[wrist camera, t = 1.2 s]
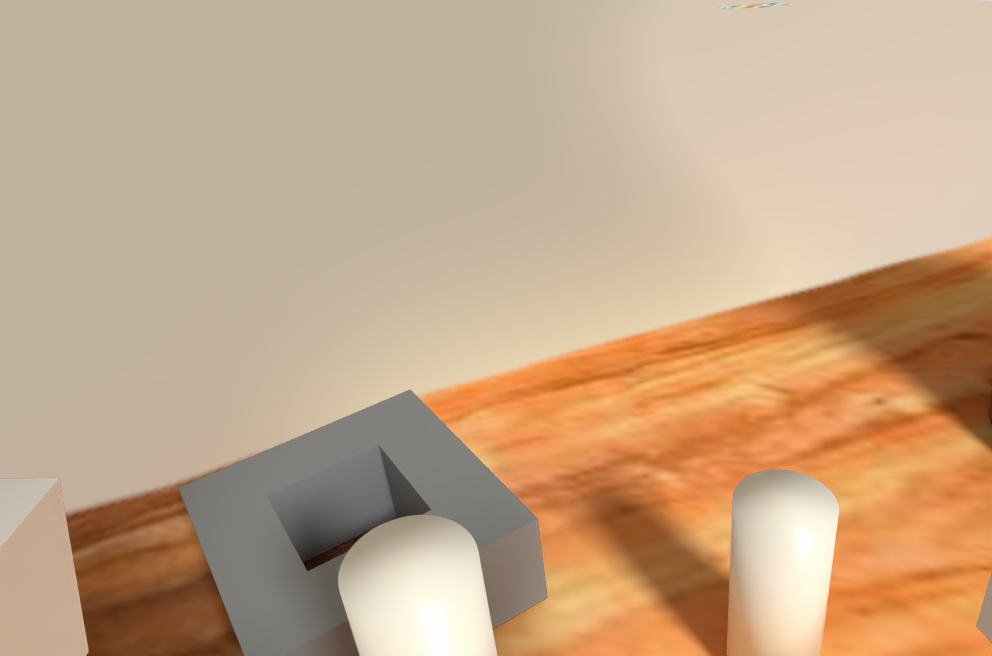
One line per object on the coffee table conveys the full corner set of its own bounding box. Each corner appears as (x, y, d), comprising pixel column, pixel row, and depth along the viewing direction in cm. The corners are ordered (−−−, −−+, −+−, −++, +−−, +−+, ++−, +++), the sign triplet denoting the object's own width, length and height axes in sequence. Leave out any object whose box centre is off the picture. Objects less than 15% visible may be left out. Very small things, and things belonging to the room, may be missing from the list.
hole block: (424, 458, 48) (410, 389, 45) (547, 597, 38) (537, 519, 35) (208, 558, 43) (178, 487, 40) (284, 751, 33) (250, 672, 30)
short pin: (768, 614, 35) (780, 457, 31) (837, 672, 33) (861, 508, 28) (708, 656, 34) (711, 497, 30) (774, 720, 31) (789, 555, 27)
